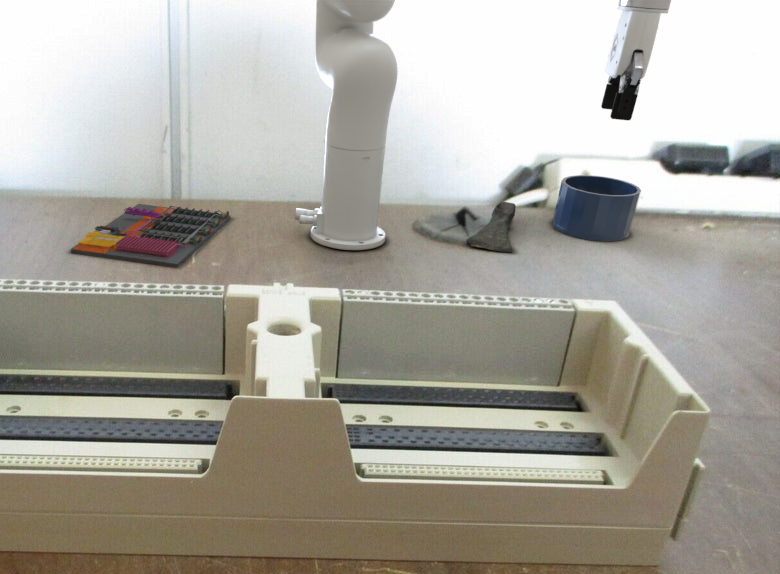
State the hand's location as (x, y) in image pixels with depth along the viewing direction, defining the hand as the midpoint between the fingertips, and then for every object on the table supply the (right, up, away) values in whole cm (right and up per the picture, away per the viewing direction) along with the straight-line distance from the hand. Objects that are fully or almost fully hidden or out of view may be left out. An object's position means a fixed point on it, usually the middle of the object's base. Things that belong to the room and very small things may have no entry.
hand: (615, 114), depth 129 cm
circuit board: (-77, -21, -2) cm, 80 cm away
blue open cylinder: (0, -17, +10) cm, 20 cm away
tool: (-17, -19, +6) cm, 27 cm away
